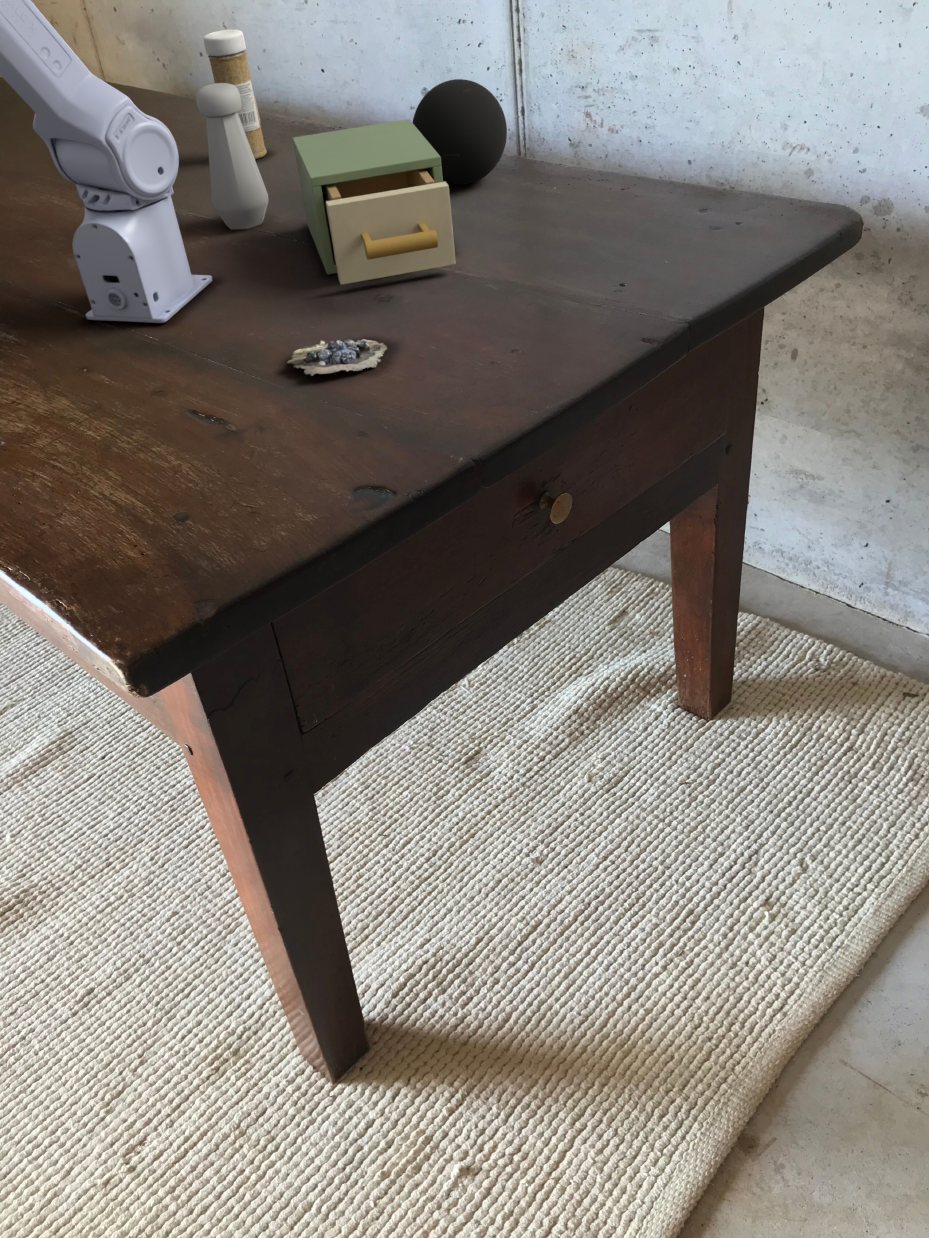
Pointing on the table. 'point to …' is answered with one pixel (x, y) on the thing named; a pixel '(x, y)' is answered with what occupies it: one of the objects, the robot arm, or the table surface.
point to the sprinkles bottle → (236, 80)
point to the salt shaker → (231, 159)
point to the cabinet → (356, 166)
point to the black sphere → (463, 129)
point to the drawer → (389, 225)
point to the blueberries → (338, 356)
